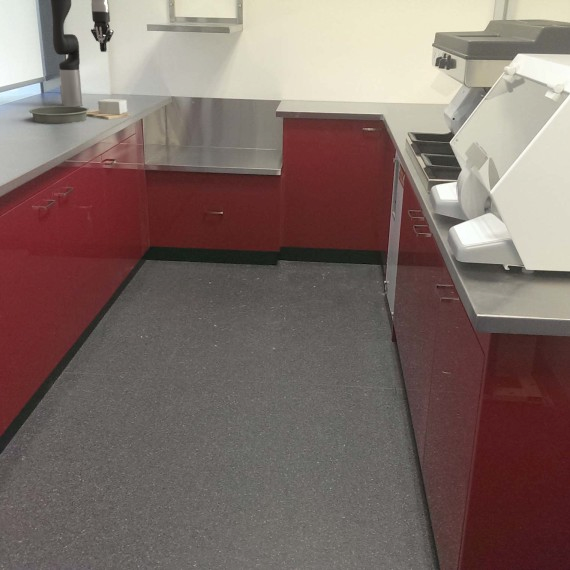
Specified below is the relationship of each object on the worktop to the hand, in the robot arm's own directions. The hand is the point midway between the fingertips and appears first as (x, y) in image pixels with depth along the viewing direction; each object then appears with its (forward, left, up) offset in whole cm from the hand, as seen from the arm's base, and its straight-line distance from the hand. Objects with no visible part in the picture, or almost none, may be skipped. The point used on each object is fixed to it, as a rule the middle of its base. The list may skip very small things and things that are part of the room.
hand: (103, 51), depth 307 cm
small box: (+3, -6, -23) cm, 24 cm away
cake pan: (+2, -28, -28) cm, 40 cm away
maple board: (+6, -8, -27) cm, 29 cm away
